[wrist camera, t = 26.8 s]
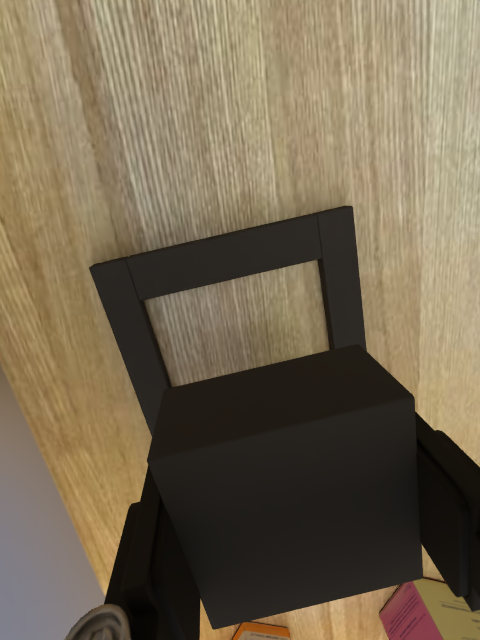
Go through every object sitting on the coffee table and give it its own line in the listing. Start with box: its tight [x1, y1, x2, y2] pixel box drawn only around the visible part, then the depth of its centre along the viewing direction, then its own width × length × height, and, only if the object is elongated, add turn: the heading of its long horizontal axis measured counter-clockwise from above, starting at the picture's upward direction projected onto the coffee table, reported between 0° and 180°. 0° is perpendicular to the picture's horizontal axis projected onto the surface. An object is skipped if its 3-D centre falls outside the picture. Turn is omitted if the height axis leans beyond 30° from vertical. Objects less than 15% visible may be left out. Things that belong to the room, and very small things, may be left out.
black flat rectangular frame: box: [89, 206, 366, 437], centre depth 22 cm, size 14×22×1 cm, turn 12°
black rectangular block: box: [147, 344, 423, 630], centre depth 10 cm, size 6×6×3 cm
